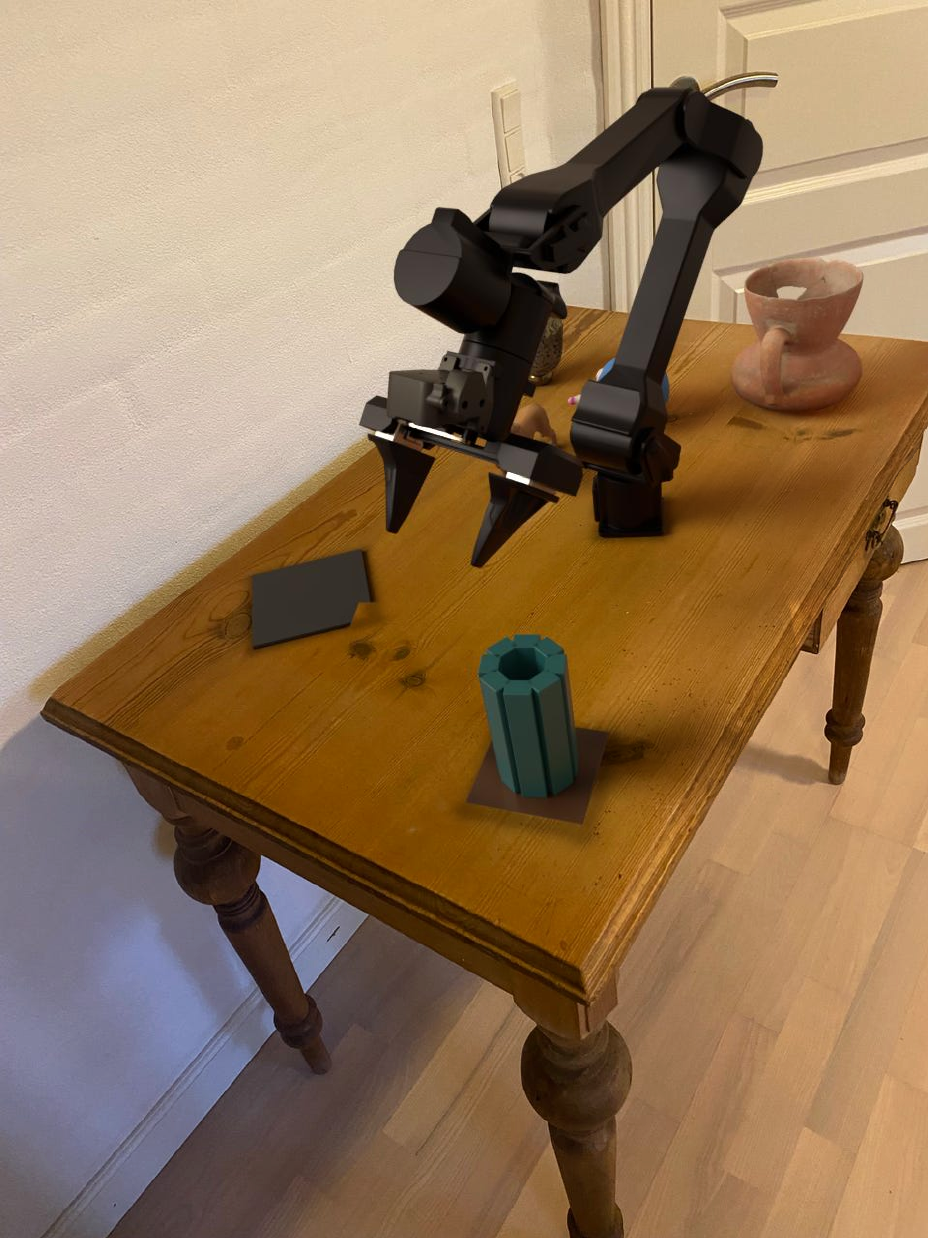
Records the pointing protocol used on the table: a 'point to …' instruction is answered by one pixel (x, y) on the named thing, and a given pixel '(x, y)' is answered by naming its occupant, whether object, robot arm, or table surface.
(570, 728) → the sleeve
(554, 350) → the cup
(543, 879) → the table surface
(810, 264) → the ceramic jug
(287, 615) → the mat
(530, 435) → the lion figurine
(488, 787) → the peg stand
